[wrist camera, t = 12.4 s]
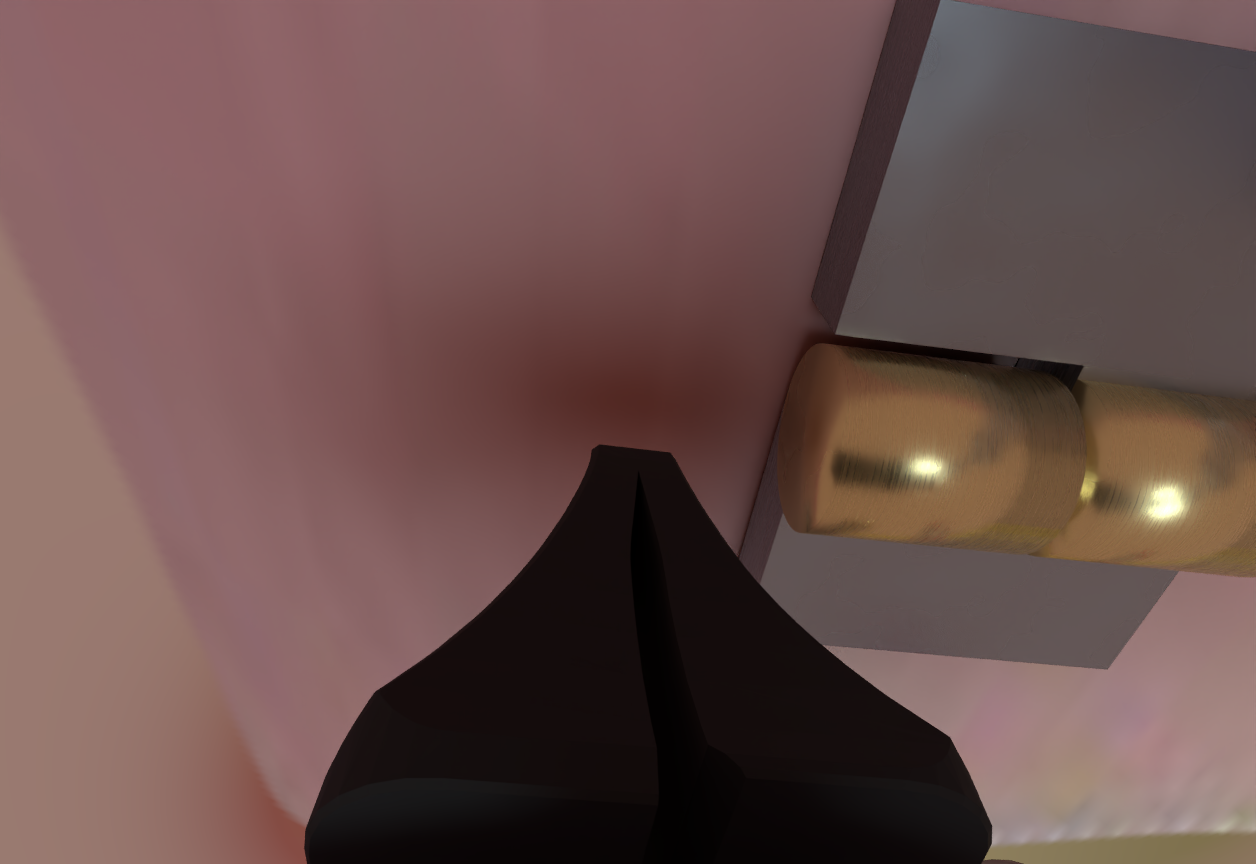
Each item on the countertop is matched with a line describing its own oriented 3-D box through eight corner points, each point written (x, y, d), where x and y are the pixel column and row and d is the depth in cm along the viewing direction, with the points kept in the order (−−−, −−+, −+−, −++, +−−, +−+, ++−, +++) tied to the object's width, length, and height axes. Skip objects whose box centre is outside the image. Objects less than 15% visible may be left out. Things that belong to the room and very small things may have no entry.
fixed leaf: (1398, 82, 14) (1676, 114, 10) (1133, 497, 19) (1255, 617, 15) (897, -3, 13) (1007, 0, 9) (764, 457, 18) (802, 574, 14)
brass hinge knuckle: (1226, 366, 17) (1384, 463, 13) (1067, 614, 21) (1155, 735, 17) (810, 313, 16) (864, 402, 12) (731, 582, 20) (756, 705, 17)
